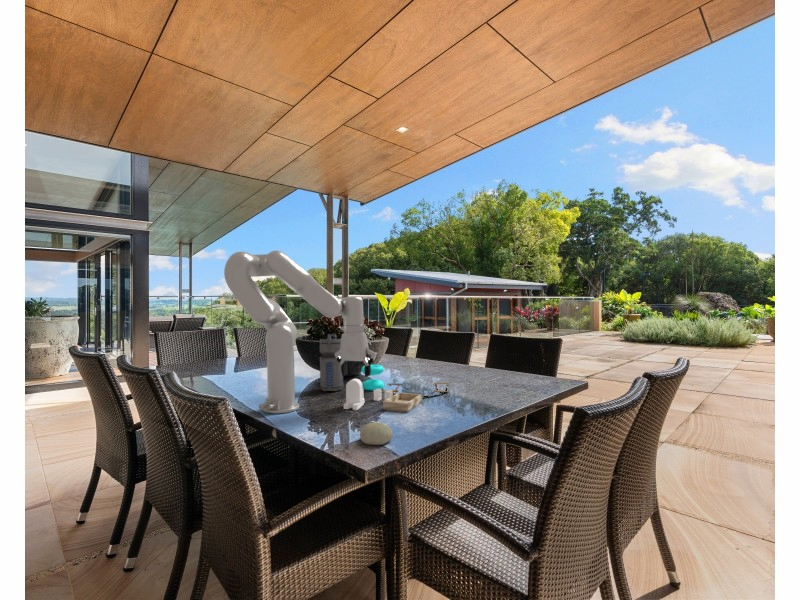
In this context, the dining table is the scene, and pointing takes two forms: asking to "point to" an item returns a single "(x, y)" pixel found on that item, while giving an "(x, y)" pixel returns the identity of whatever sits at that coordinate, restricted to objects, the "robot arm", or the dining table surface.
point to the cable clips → (379, 394)
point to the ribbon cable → (422, 397)
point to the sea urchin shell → (376, 434)
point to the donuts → (373, 383)
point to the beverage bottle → (330, 364)
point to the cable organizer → (354, 395)
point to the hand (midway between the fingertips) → (356, 375)
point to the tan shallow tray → (402, 402)
